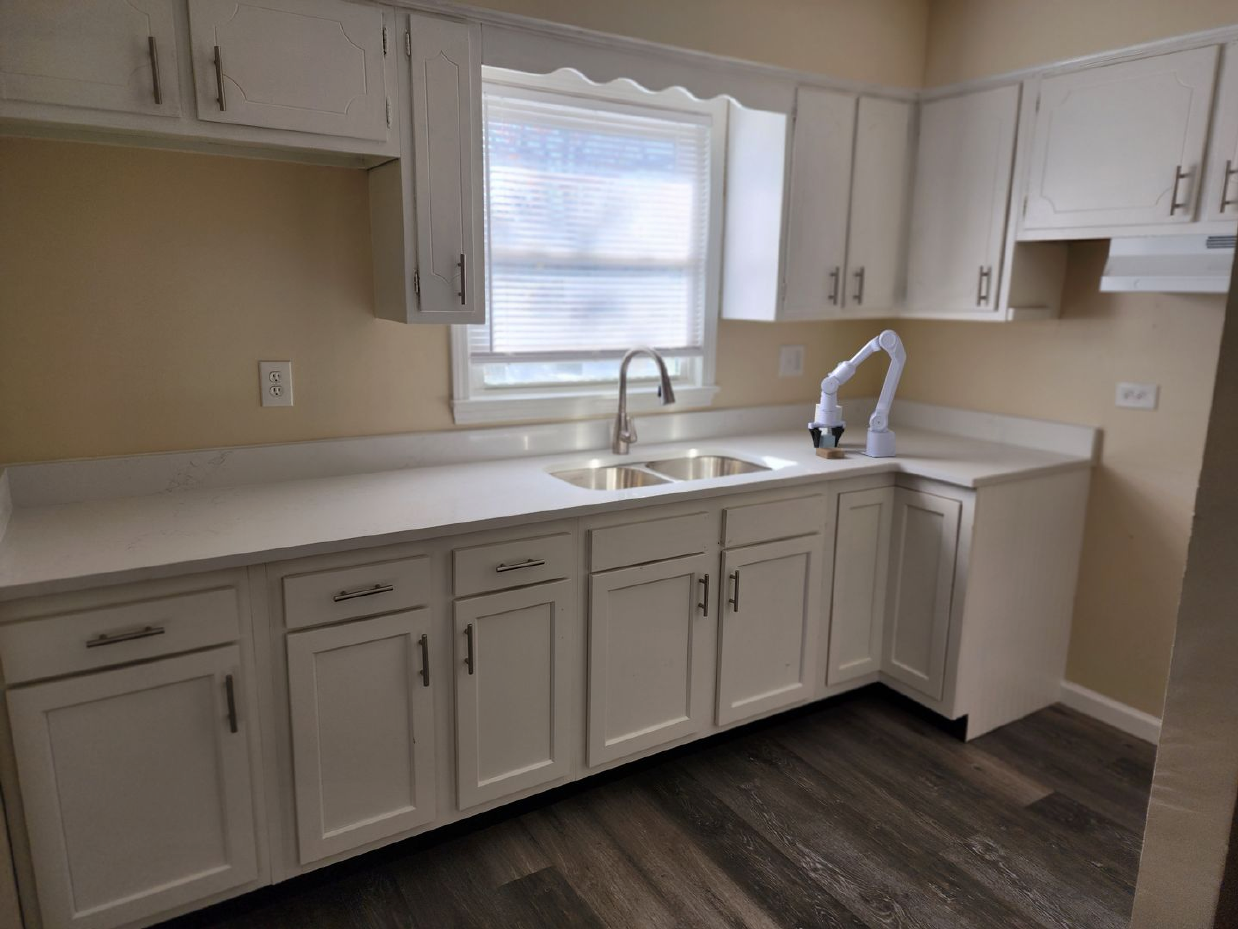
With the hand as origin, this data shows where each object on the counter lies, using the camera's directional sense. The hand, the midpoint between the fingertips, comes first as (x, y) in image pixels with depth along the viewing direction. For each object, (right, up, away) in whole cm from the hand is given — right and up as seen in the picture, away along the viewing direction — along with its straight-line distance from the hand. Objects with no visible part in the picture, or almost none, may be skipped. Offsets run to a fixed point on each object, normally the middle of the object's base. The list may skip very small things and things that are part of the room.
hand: (825, 447), depth 296 cm
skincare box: (+3, +1, +12) cm, 12 cm away
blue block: (0, -1, 0) cm, 2 cm away
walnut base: (-1, -4, -9) cm, 10 cm away
